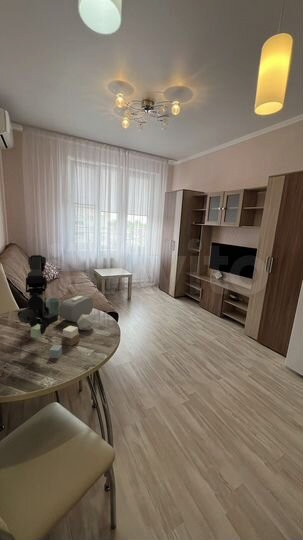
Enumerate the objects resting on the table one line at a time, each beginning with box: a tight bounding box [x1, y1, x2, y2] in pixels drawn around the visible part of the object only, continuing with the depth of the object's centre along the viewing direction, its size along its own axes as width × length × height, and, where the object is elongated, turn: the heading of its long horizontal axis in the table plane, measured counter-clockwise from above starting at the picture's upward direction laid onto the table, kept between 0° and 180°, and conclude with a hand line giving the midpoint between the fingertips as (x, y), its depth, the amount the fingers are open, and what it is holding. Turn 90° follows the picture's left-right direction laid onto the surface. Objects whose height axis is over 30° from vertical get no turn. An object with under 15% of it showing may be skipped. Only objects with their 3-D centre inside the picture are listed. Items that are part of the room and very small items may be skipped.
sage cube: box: [29, 324, 47, 340], centre depth 104 cm, size 4×4×4 cm
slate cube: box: [48, 344, 63, 359], centre depth 99 cm, size 4×4×4 cm
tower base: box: [61, 332, 80, 347], centre depth 111 cm, size 6×6×4 cm
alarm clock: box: [58, 295, 94, 323], centre depth 138 cm, size 21×10×13 cm, turn 159°
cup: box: [45, 297, 61, 316], centre depth 141 cm, size 8×8×10 cm
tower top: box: [62, 325, 79, 338], centre depth 110 cm, size 5×5×4 cm
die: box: [76, 314, 95, 331], centre depth 125 cm, size 8×9×10 cm
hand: (38, 333), depth 104 cm, fingers closed on sage cube, 4 cm apart
